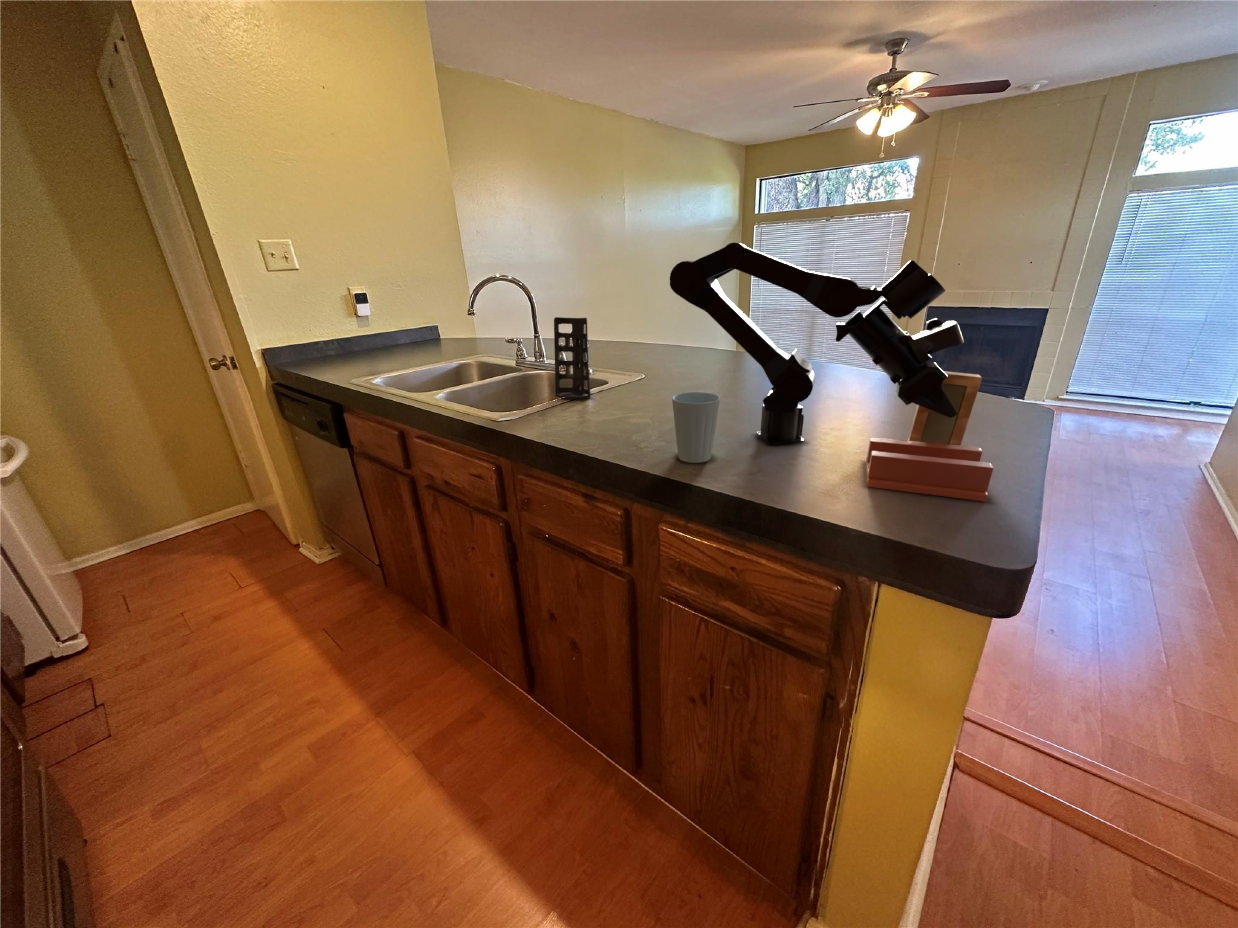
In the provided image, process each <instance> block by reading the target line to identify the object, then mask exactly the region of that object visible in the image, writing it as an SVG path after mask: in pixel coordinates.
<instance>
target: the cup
mask: <svg viewBox="0 0 1238 928" xmlns="http://www.w3.org/2000/svg"><path fill="white" fill-rule="evenodd" d="M671 401H672V411H673V420H674V431H675V439H676V449H677V457H678V459H679V460H680V461H682V462H685V463H691V464H699V463H700V464H701V463H705V462H708V461H710V460H711V459H712V453H713V447H714V440H715V434H716V429H717V420H718V415H719V409H720V403H721V397H720V395H717V394H715V393H711V392H703V391H695V392H694V391H690V392H688V391H687V392H682V393H677V394H675V395H673V396H672V397H671Z"/></svg>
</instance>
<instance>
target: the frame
mask: <svg viewBox="0 0 1238 928" xmlns="http://www.w3.org/2000/svg"><path fill="white" fill-rule="evenodd" d="M942 371H943V372H944V373H945V374H946V375H947V376H948V377H947V378H946V379H945V380H944V381H943V384H942V389H943V390H944V392H945V394H946V395H947V397H948V399H949V400H950V402H951V404H952V405H953V407H954V409H955V410H956V412H957V415H955V416H954V417H952V418H949V417H947V416H944V415H942V414H939V413H937V412H935V411H932V410H930V409H927V408H925V407H922V406H920V405H917V404H916V408H915V410H914V415H913V419H912V422H911V425H910V429H909V433H908V437H907V440H906V441H916V442H927V443H938V444H949V445H960V446H962V443H963V439H964V436H965V433H966V430H967V427H968V423H969V421H970V417H971V414H972V411H973V408H974V405H975V401H976V398H977V396H978V392H979V389H980V386H981V383H982V380H983V377H982V376H981V375H980V374H976V373H975V374H974V373H968V372H967V373H966V372H957V371H955V372H954V371H947V370H942Z"/></svg>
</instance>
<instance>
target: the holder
mask: <svg viewBox="0 0 1238 928" xmlns="http://www.w3.org/2000/svg"><path fill="white" fill-rule="evenodd" d="M560 325H571V332H560ZM560 339H564V346H561V345H560ZM553 340H554V341H553V342H554V345H553V346H554V380H555V381H554V385H555V388H554V389H555V390H554V391H555V395H554V396H555V397H558V398H563V399H566V400H567V399H569V400H577V401H579V400H580V401H581V400H582V401H586V400H591V397H592V396H591V395H592V394H591V382H590V367H589V366H590V365H589V335H588V317H559V316H558V317H557V316H556V317H554V318H553ZM571 343H572V344H571ZM560 353H572V354H571V355H572V358H571V360H562V359H560ZM563 366H564V367H565V373H561V371H560V370H561V369H560V367H563ZM571 366H572V371H571ZM561 380H572V387H571V386H568V387H567V386H563V387H562V386H561ZM586 381H587V382H586ZM586 383H587V384H586ZM586 385H587V386H586Z"/></svg>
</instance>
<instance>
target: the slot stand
mask: <svg viewBox="0 0 1238 928" xmlns="http://www.w3.org/2000/svg"><path fill="white" fill-rule="evenodd" d="M982 455H983V451H982V449H981V448H980V447H979V446H969V445H961V446H960V445H949V444H938V443H927V442H916V441H907V440H904V439H892V438H883V437H882V438H881V437H869V443H868V449H867V455H866V457H865V458H866V459H865V472H866V474H865V475H866V486H867V488H876V489H884V490H891V491H898V492H899V491H900V492H906V493H907V492H908V493H913V494H914V493H915V494H922V495H930V496H931V495H932V496H938V497H946V498H954V499H962V500H969V501H970V500H971V501H977V502H985V503H986V502H987V501H988V498H989V494H988V490H989V486H990V484H991V483H990V482H991V479H992V476H993V472H994V467H993V465H992V464H991V462H985V461H981V458H982Z"/></svg>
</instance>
